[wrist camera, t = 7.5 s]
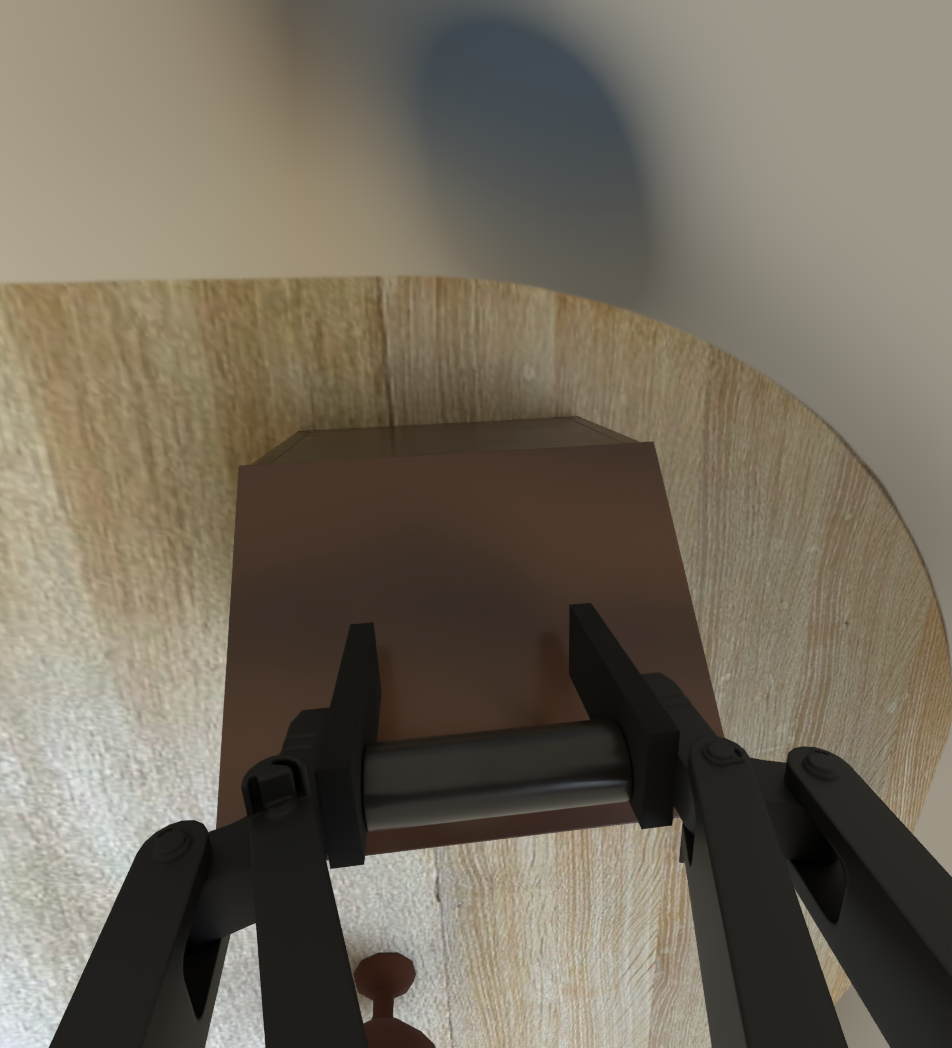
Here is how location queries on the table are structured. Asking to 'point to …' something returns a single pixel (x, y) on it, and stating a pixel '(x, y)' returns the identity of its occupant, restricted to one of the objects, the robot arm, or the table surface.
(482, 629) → the chest lid
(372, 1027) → the ice cream bowl
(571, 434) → the chest
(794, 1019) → the robot arm
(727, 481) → the table surface
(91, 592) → the table surface
